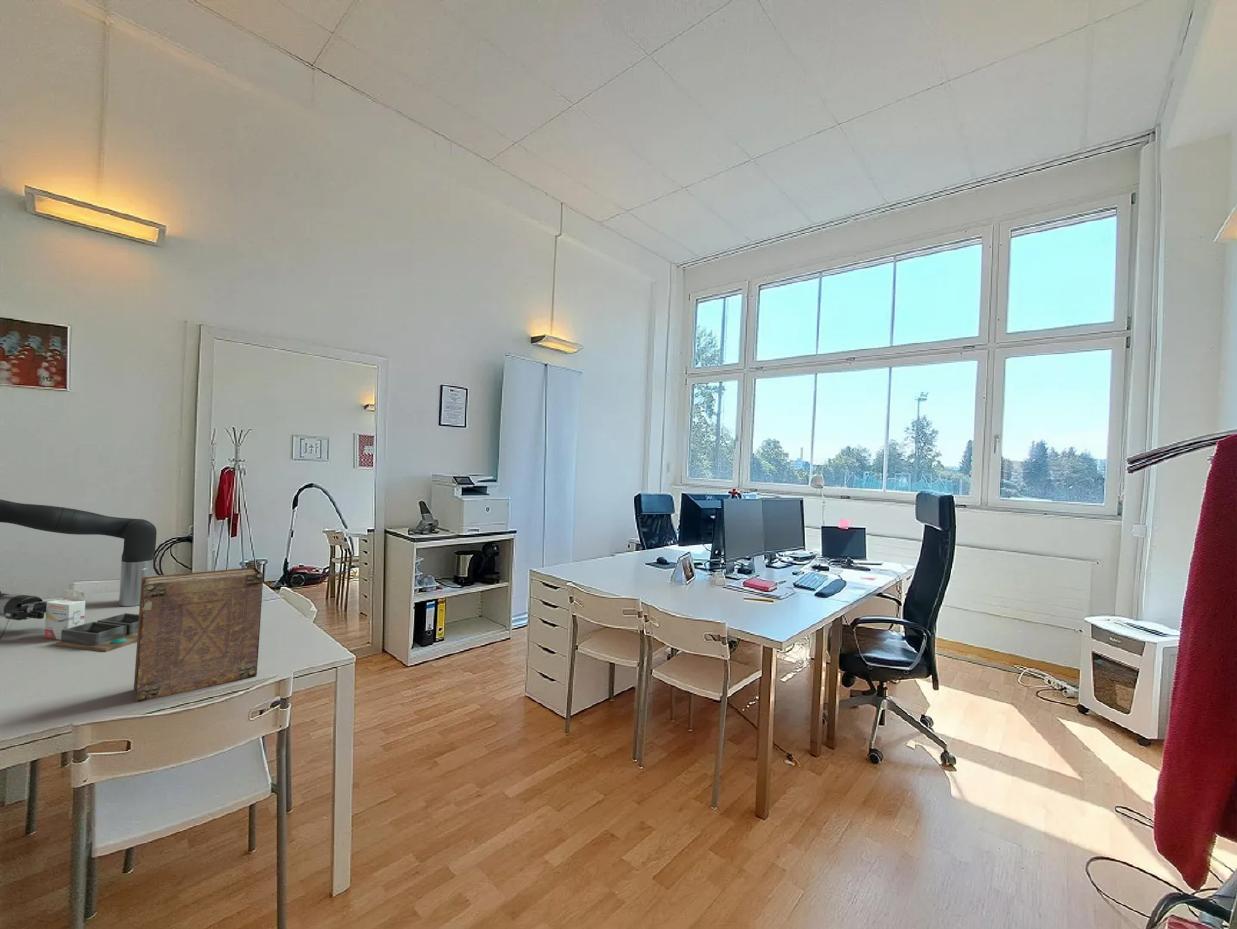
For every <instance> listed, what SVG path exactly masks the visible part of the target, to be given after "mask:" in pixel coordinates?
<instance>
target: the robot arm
mask: <svg viewBox="0 0 1237 929" xmlns="http://www.w3.org/2000/svg"><path fill="white" fill-rule="evenodd" d="M0 523H4V524H5V523H6V524H13V525H16V526H17V525H18V526H21V527H25V528H28V529H34V530H38V531H44V532H50V533H57V534H64V535H81V536H82V535H83V536H84V535H85V536H86V535H87V536H90V535H91V536H92V535H93V536H95V535H96V536H109V537H113V538H119V539H123V549H122V553H121V560H120V561H121V565H120V577H119V578H120V580H119V581H120V582H119V596H118V597H119V598H118V605H119V606H121V607H134V606H135V607H137V606H140V595H141V581H142V578H143V577H148V576H154V558H155V553H156V546H157V528H156V526H155V524H153V523H152V522H150V521H149V520H147V519H143V518H132V517H131V518H129V517H117V516H110V515H104V514H100V513H96V512H91V511H86V510H82V509H81V510H80V509H75V508H69V507H64V506H55V505H48V504H47V505H45V504H33V503H23V502H22V503H21V502H15V501H9V500H5V499H0ZM58 599H59V598H58ZM58 599H56V600H58ZM47 602H48V601H47V600H43V599H42V598H40V597H39V596H36V595H27V594H20V593H19V594H17V593H16V594H14V593H5V592H2V591H1V590H0V617H3V618H5V619H6V620H7V619H8V620H13V621H23V620H24V621H25V620H30V619H37V620H41V619H44V616H45V614H46V606H47Z"/></svg>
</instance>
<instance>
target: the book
mask: <svg viewBox="0 0 1237 929" xmlns="http://www.w3.org/2000/svg"><path fill="white" fill-rule="evenodd" d="M263 588H264V573H263V572H262V571H261V570H260V569H258V568H257V567H256V566H253V567H245V568H244V567H243V568H232V569H221V570H209V571H208V570H207V571H197V572H196V571H195V572H184V573H175V574H173V573H172V574H162V575H153V576H148V577H143V578H142V581H141V595H140V605H139V610H138V611H139V612H138V615H139V622H138V636H137V642H136V651H135V652H136V656H135V669H134V681H133V690H135V691H136V703H140V702H145V701H149V700H154V699H158V698H159V699H160V698H164V697H167V696H172V695H177V694H182V693H186V692H191V691H195V690H199V689H203V688H204V689H205V688H209V687H213V686H217V685H223V684H227V683H231V682H236V681H240V680H245V679H249V678H254V677H257V675H258V661H259V647H260V646H259V645H260V632H261V630H260V629H261V618H262V617H261V615H262V605H263V604H262V603H263V602H262V601H263V600H262V599H263Z"/></svg>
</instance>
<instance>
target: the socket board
mask: <svg viewBox="0 0 1237 929" xmlns="http://www.w3.org/2000/svg"><path fill="white" fill-rule="evenodd" d="M138 622H139V613H138V614H137V613H129V612H128V613H127V612H125V613H121V614H117V615H113V616H110V617H106V618H102V619H99V620H97V621H92V622H88V623H87V622H86V623H84V624H83V625H79V626H75V627H71V628H68V629H64V630H62V632H61V640H59V641H56V646H59V647H66V646H67V647H69V648H75V649H81V650H89V651H97V652H106V653H107V652H110V651H112V650H113V651H114V650H117V649H119V648H122V647H125V646H128V645H132V644H134V643H137V636H138Z"/></svg>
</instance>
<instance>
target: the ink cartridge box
mask: <svg viewBox="0 0 1237 929" xmlns="http://www.w3.org/2000/svg"><path fill="white" fill-rule="evenodd" d="M72 594H74V595H72ZM85 612H86V593H85V591H81V590H73V589H72V590H71V589H63V598H58V600H57V599H54V600H50V601H47V606H46V613H45V623H44V624H45V626H44V638H46V639H54V640H59V641H61V632H62V630H64V629H68V628H71V627H75V626H79V625H83V624H85V618H86V617H85V616H86V614H85Z"/></svg>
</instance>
